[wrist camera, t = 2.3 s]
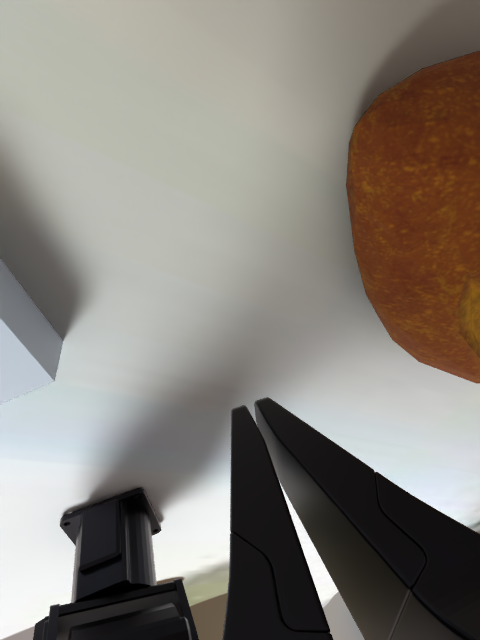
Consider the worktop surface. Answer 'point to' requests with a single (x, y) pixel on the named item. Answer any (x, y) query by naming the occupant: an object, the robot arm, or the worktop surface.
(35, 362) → the boxed book
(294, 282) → the worktop surface
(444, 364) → the bread
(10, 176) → the worktop surface
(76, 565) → the robot arm
